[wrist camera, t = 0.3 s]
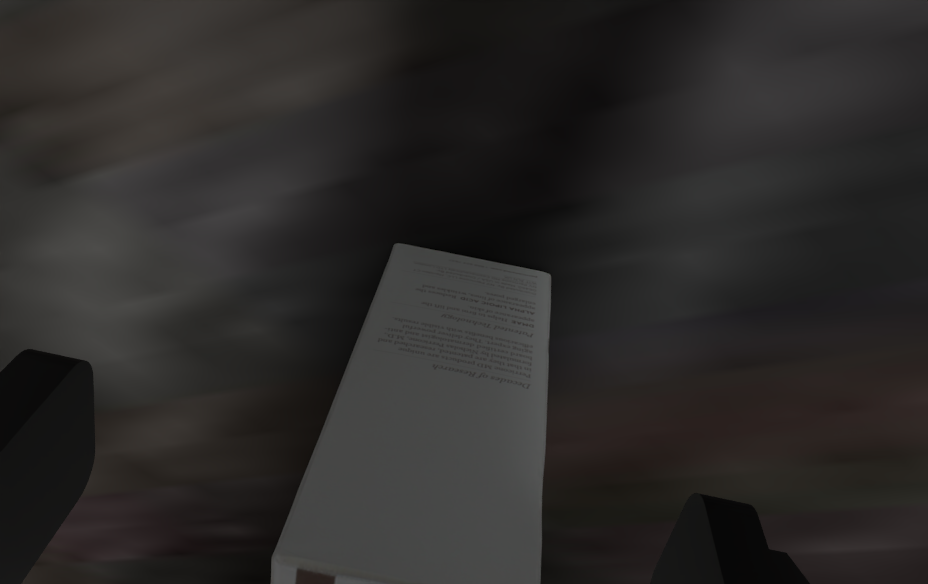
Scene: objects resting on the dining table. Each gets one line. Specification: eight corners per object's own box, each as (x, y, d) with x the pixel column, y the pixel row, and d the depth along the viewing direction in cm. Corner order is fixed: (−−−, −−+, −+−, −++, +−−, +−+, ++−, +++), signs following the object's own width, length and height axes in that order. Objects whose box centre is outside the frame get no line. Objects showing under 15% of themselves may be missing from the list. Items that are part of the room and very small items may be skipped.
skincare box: (509, 435, 33) (486, 835, 21) (362, 408, 33) (249, 793, 21) (554, 257, 29) (560, 630, 16) (384, 226, 29) (257, 576, 16)
